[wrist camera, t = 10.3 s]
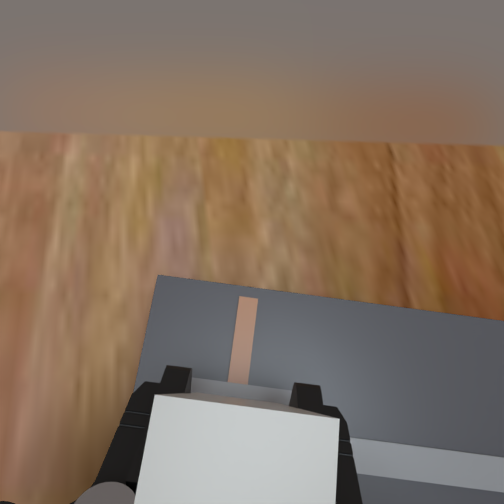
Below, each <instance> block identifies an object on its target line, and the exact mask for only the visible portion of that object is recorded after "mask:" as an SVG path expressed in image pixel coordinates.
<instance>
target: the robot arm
mask: <svg viewBox="0 0 504 504" xmlns="http://www.w3.org/2000/svg"><path fill="white" fill-rule="evenodd" d="M191 381H192V368H187V367H179V366H172V365H167V366H166V368H165V370H164V373H163V376H162V379H161V382H160V383H156V382H148V381H145V382H144V383H143V384H142V385H141V386H140V387H139V388H138V389H137V390H136V391H135V392H133V393H132V395H131V398H130V400H129V402H128V405H127V407H126V409H125V413H124V414H123V417H122V419H121V421H120V425H119V427H118V428H117V431H116V433H115V435H114V438H113V440H112V443H111V445H110V447H109V450H108V452H107V454H106V457H105V459H104V461H103V464H102V466H101V469H100V471H99V473H98V476H97V478H96V480H95V482H94V483H93V485H92V486H91V487H90V488H89V489H88V490H86V491H85V492H84V493H83V494H82V495H81V496H80V497H79V498H78V499H77V500H76V501H74V502H72V503H70V504H134V501H135V496H136V490H137V485H138V480H139V475H140V469H141V464H142V459H143V454H144V449H145V443H146V438H147V433H148V428H149V422H150V417H151V412H152V407H153V402H154V396H155V395H157V394H177V393H191ZM289 406H290V407H294V408H298V409H303V410H307V411H311V412H315V413H318V414H322V415H326V416H330V417H334V418H338V419H340V421H339V441H338V461H337V481H336V500H335V504H363V503H362V497H361V492H360V487H359V482H358V477H357V471H356V466H355V461H354V458H353V451H352V445H351V443H350V435H349V430H348V425H347V422H346V420H345V419H344V417H343V415H342V414H341V412H340V411H339V409H338V408H337V407H335V406H327V405H323V399H322V392H321V387H320V385H313V384H305V383H298V382H295V383H294V385H293V389H292V393H291V398H290V402H289ZM0 504H15V503H12V502H7V501H0Z"/></svg>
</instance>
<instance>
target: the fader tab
mask: <svg viewBox="0 0 504 504" xmlns="http://www.w3.org/2000/svg"><path fill="white" fill-rule="evenodd" d="M291 393H292V391H291V390H283V389H276V388H268V387H261V386H253V385H246V384H238V383H230V382H223V381H215V380H208V379H200V378H193V377H192V381H191V393H177V394H157V395H155V396H154V402H153V407H152V412H151V417H150V422H149V428H148V433H147V438H146V443H145V449H144V454H143V459H142V464H141V469H140V475H139V480H138V485H137V490H136V496H135V501H134V504H335V500H336V481H337V461H338V441H339V421H340V419H338V418H334V417H330V416H326V415H322V414H318V413H315V412H311V411H307V410H303V409H298V408H294V407H290V406H289V402H290V398H291Z"/></svg>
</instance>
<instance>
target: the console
mask: <svg viewBox="0 0 504 504" xmlns="http://www.w3.org/2000/svg"><path fill="white" fill-rule="evenodd" d="M167 365H172V366H179V367H187V368H192V377H193V378H200V379H208V380H215V381H223V382H230V383H238V384H246V385H253V386H261V387H268V388H276V389H283V390H291V391H292V389H293V385H294V383H295V382H298V383H305V384H313V385H320V387H321V392H322V399H323V405H327V406H335V407H337V408H338V409H339V411H340V412H341V414H342V415H343V417H344V419H345V420H346V422H347V425H348V430H349V435H350V443H351V445H352V451H353V458H354V461H355V466H356V471H357V477H358V482H359V487H360V492H361V497H362V503H363V504H504V321H500V320H492V319H485V318H477V317H470V316H462V315H455V314H447V313H440V312H432V311H425V310H417V309H410V308H402V307H395V306H387V305H380V304H373V303H365V302H358V301H350V300H343V299H335V298H328V297H320V296H313V295H305V294H298V293H290V292H283V291H275V290H268V289H260V288H253V287H246V286H238V285H231V284H223V283H216V282H208V281H201V280H193V279H186V278H178V277H171V276H163V275H158V276H157V281H156V286H155V291H154V296H153V300H152V305H151V310H150V315H149V320H148V324H147V329H146V334H145V339H144V344H143V348H142V353H141V358H140V363H139V368H138V372H137V377H136V382H135V387H134V392H135V391H136V390H137V389H138V388H139V387H140V386H141V385H142V384H143V383H144V382H145V381H148V382H156V383H160V382H161V379H162V376H163V373H164V370H165V368H166V366H167Z"/></svg>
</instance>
